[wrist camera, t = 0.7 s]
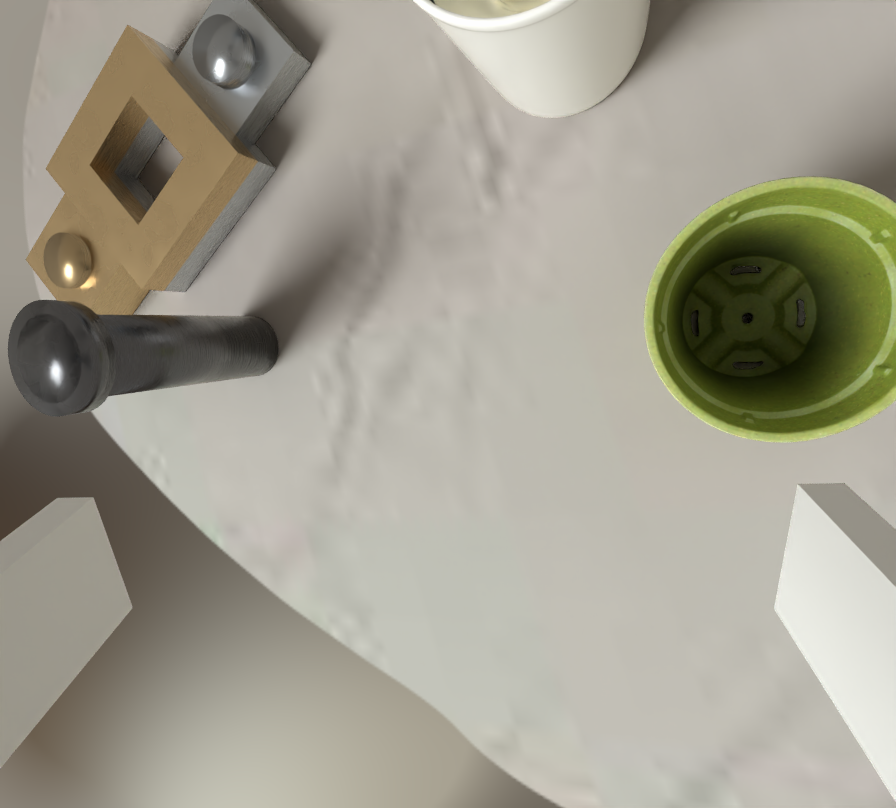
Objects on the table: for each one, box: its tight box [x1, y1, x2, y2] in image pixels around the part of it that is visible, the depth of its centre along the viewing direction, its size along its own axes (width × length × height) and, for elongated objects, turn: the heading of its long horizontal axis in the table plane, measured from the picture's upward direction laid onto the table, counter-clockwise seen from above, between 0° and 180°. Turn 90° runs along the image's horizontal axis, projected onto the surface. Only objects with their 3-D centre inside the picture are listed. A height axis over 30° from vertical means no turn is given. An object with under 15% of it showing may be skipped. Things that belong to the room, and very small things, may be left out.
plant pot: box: [644, 176, 896, 442], centre depth 24 cm, size 9×9×9 cm
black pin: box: [8, 300, 278, 416], centre depth 32 cm, size 5×5×14 cm
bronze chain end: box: [26, 25, 258, 315], centre depth 38 cm, size 17×11×4 cm, turn 134°
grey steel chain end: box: [115, 0, 311, 292], centre depth 36 cm, size 17×11×3 cm, turn 134°
